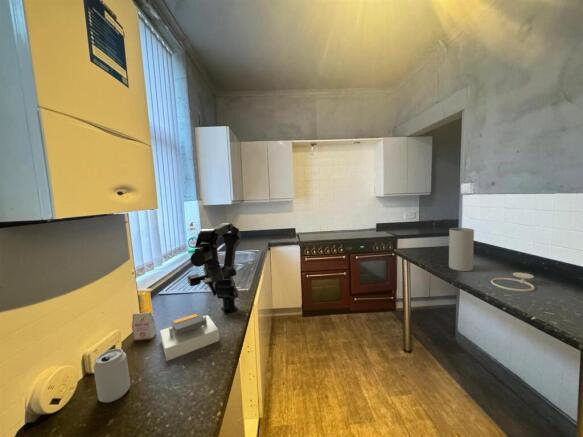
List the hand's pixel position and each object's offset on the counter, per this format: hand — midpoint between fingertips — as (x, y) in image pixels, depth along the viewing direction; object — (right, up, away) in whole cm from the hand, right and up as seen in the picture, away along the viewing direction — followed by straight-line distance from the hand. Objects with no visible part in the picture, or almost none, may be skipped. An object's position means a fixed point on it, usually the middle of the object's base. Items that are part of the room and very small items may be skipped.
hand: (214, 295), depth 103 cm
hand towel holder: (+148, -3, +25) cm, 150 cm away
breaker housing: (-6, -15, -9) cm, 18 cm away
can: (-18, -18, -33) cm, 42 cm away
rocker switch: (-7, -7, -10) cm, 14 cm away
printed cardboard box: (-26, -15, -5) cm, 31 cm away
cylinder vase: (+139, 0, +52) cm, 149 cm away
